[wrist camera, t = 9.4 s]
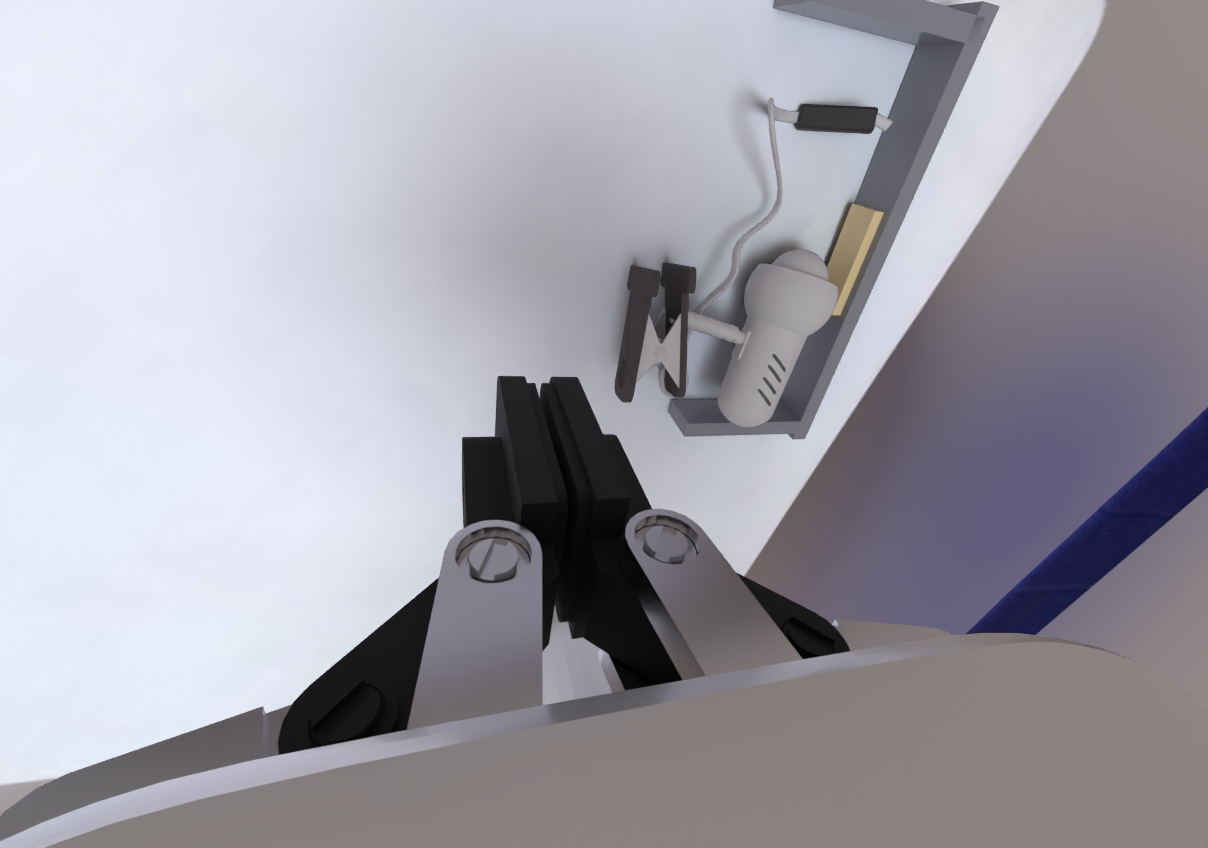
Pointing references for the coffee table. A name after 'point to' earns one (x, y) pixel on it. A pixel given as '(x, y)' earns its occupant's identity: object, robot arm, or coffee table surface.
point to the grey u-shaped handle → (869, 188)
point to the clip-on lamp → (772, 302)
